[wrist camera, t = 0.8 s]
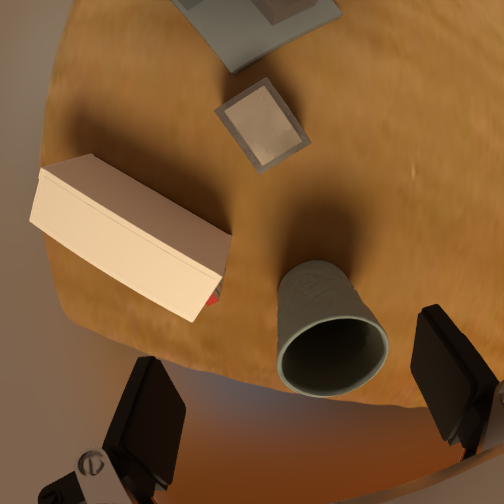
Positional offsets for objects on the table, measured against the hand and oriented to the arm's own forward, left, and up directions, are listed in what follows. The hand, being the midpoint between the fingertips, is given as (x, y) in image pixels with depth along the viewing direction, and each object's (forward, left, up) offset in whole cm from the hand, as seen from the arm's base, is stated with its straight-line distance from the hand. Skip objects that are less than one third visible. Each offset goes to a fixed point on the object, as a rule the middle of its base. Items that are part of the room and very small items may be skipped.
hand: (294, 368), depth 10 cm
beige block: (-3, -7, -23) cm, 24 cm away
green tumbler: (+2, +12, -23) cm, 26 cm away
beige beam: (+12, -6, -23) cm, 27 cm away
